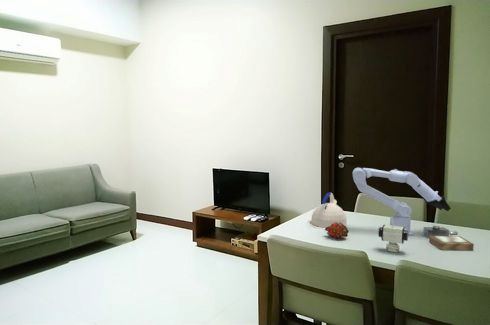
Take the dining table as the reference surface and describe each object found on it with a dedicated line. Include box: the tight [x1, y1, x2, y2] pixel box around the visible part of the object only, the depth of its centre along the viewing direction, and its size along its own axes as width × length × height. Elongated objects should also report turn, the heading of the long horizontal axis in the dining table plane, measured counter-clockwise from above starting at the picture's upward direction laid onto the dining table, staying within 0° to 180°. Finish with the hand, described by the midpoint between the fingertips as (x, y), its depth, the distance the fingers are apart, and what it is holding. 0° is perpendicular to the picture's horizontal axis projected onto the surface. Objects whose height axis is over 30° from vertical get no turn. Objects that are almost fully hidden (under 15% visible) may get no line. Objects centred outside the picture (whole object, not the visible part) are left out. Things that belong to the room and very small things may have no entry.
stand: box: [428, 235, 475, 251], centre depth 159 cm, size 14×11×3 cm
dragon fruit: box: [324, 222, 349, 240], centre depth 172 cm, size 8×8×12 cm
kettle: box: [310, 192, 348, 228], centre depth 198 cm, size 20×21×18 cm
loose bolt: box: [449, 230, 459, 236], centre depth 176 cm, size 7×2×2 cm, turn 106°
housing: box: [422, 225, 450, 239], centre depth 173 cm, size 10×5×5 cm, turn 87°
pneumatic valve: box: [378, 224, 409, 253], centre depth 153 cm, size 6×12×12 cm, turn 60°
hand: (445, 209), depth 174 cm, fingers open, 7 cm apart
